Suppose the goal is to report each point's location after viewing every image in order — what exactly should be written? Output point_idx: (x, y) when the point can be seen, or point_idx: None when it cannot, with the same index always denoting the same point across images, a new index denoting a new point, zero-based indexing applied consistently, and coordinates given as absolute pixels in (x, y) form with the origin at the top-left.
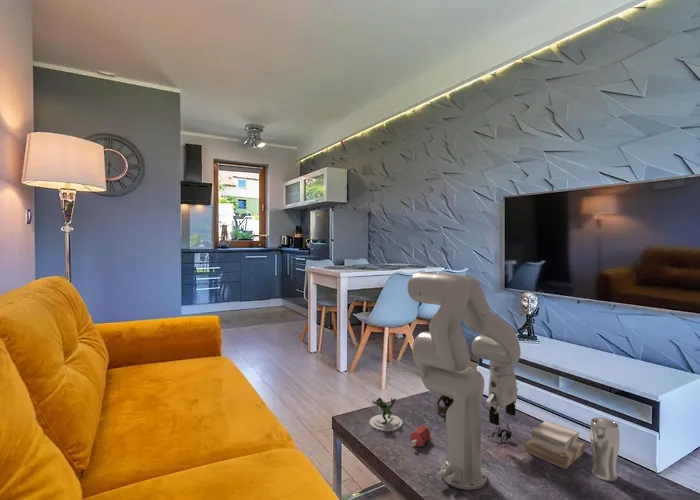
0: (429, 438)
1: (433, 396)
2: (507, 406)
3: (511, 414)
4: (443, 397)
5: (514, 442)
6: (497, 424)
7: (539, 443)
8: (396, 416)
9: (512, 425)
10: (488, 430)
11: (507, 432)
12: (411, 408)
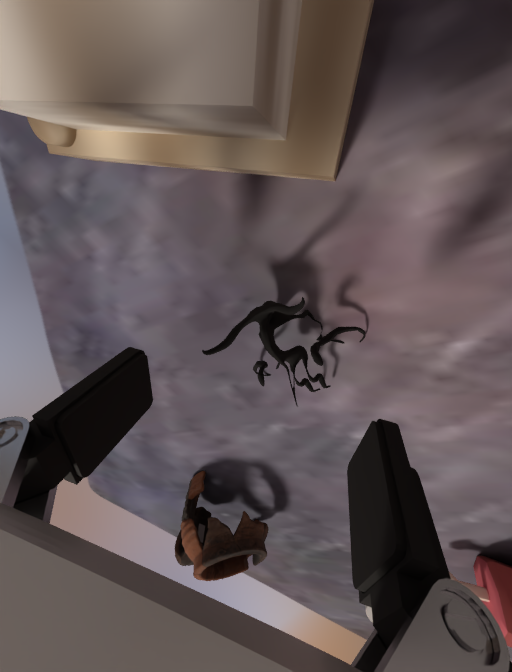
0: (500, 565)
1: (179, 527)
2: (110, 438)
3: (146, 371)
4: (213, 569)
5: (267, 275)
6: (393, 432)
7: (293, 28)
8: (368, 607)
9: (136, 328)
10: (245, 394)
11: (270, 328)
12: (281, 567)
